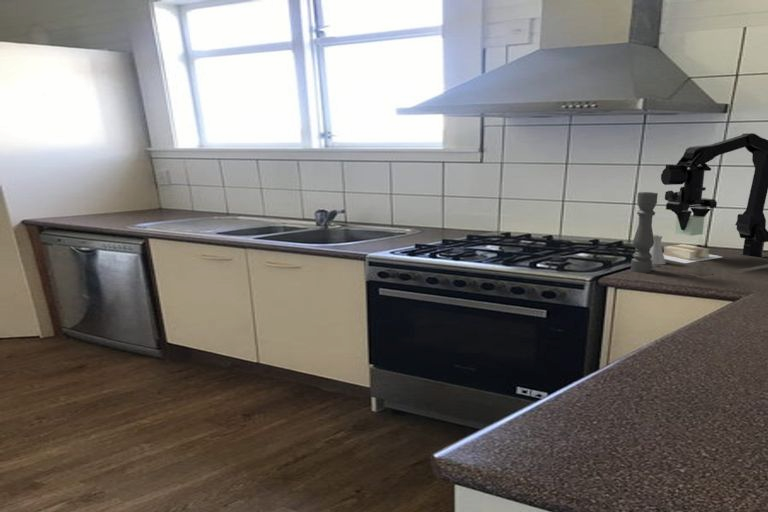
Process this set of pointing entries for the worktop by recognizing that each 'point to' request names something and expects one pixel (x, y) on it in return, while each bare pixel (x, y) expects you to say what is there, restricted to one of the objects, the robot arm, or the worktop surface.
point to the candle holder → (644, 233)
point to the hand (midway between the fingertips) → (688, 229)
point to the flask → (657, 252)
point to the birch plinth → (686, 252)
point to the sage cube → (691, 226)
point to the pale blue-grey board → (689, 260)
